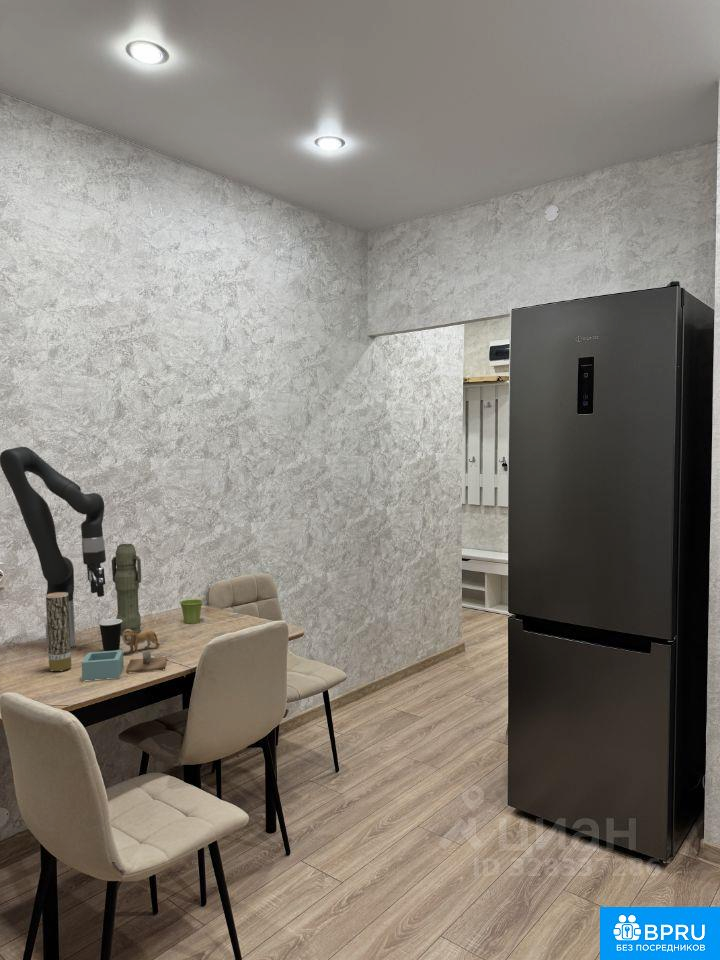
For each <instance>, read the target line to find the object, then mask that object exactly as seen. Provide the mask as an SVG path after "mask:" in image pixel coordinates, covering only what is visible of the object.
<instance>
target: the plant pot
mask: <svg viewBox="0 0 720 960" xmlns="http://www.w3.org/2000/svg"><path fill="white" fill-rule="evenodd" d="M203 603H204V600H202V599H193V598H192V599H184V600H181V601H180V602H179V604H180V608H181V609H182V616H183V622H184V624H186V623H188V624H191V623H194V624H198V623H199V622H200V619H201V612H202V611H201V610H202V606H203ZM197 622H198V623H197Z"/></svg>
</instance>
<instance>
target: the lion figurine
mask: <svg viewBox="0 0 720 960" xmlns="http://www.w3.org/2000/svg"><path fill="white" fill-rule="evenodd" d="M121 638H122V642H123V643H124V644H126V646H128V647H129V648H130V650H129V651H128V653H129V652H131V653H133V655H134V654H135V655H136V653H137V654H138V652H139V651H138V647H139V644H144V643H145V642H146V643H147V644H146V646H144V649H146V650H147V649H149V647H150V646H151V645H152V643H153V644H155V645H156V646H155V647H154V649H156V650H157V648H158V649H159V648H160V643H159V641H158V637H157V634H156V633H155V632H154V631H153V630H146V631H144V632H140V633H137V632H136V631H132V630H131V629H126V630H124V632H123V634H122V636H121Z"/></svg>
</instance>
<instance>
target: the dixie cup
mask: <svg viewBox="0 0 720 960" xmlns="http://www.w3.org/2000/svg"><path fill="white" fill-rule="evenodd" d="M121 622H122V620H120V619H116V618H109V619H105V620H100V621H99V622H98V625H99V630H100V636H101V642H102V649H103V652H104V651H117V650H120V648H121V636H120V635H121Z"/></svg>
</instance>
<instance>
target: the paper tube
mask: <svg viewBox="0 0 720 960" xmlns="http://www.w3.org/2000/svg"><path fill="white" fill-rule="evenodd" d="M45 605H46V606H45V607H46V608H45V610H46V624H47V634H48V650H47V652H48V668H49V669H50V670H53V671H60V672H62V671H61V670H65V671H67V670H66V669H68V670H70V669H71V668H72V652H71V651H72V648H71V644H70V622H69V600H68V593H67V592H57V593H50V594H47V595H46V594H45ZM69 668H70V669H69ZM50 670H49V671H50Z"/></svg>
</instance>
